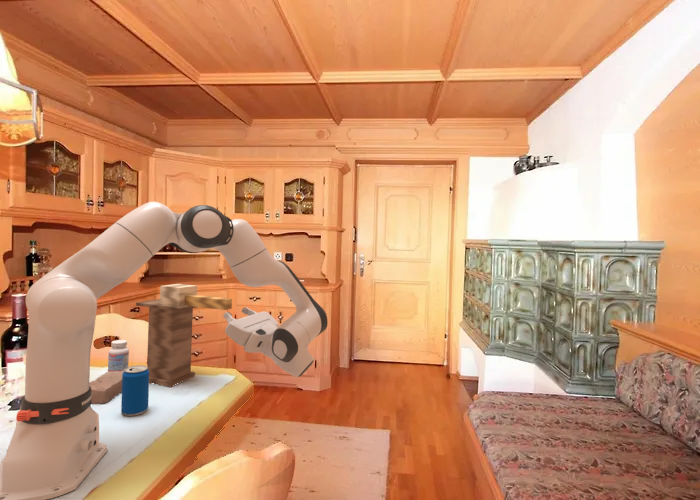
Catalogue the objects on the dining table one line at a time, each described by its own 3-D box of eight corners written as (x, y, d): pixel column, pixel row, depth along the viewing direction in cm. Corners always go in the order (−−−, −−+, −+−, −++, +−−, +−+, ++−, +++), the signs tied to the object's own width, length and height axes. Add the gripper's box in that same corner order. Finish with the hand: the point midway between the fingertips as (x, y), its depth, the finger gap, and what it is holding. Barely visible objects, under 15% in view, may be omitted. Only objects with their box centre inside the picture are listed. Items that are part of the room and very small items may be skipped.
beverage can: (136, 405, 110) (137, 363, 110) (153, 409, 108) (154, 366, 108) (115, 414, 104) (116, 370, 104) (133, 419, 102) (134, 374, 102)
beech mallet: (236, 307, 127) (236, 289, 127) (220, 311, 119) (221, 291, 119) (178, 300, 135) (178, 283, 135) (159, 304, 127) (160, 285, 127)
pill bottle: (103, 376, 131) (104, 343, 131) (115, 370, 137) (116, 338, 137) (121, 377, 131) (122, 344, 131) (131, 371, 137) (133, 339, 137)
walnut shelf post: (202, 377, 134) (205, 302, 133) (176, 389, 123) (179, 307, 122) (162, 369, 140) (164, 298, 139) (133, 380, 128) (136, 302, 128)
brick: (107, 383, 126) (107, 369, 126) (133, 383, 127) (134, 369, 126) (74, 405, 109) (75, 389, 109) (105, 405, 110) (106, 389, 110)
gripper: (288, 322, 128) (257, 298, 132) (253, 336, 109) (218, 308, 112) (279, 337, 129) (249, 313, 133) (243, 354, 110) (209, 325, 114)
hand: (234, 311), depth 123 cm, fingers open, 8 cm apart
